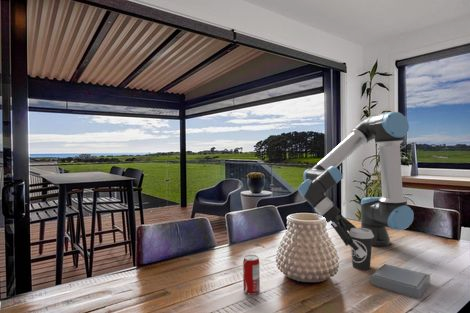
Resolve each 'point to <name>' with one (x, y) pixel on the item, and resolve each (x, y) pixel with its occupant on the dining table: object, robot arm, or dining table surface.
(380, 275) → the slate base
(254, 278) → the soda can
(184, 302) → the dining table surface
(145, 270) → the dining table surface
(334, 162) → the robot arm
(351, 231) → the coffee cup
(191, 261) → the dining table surface
